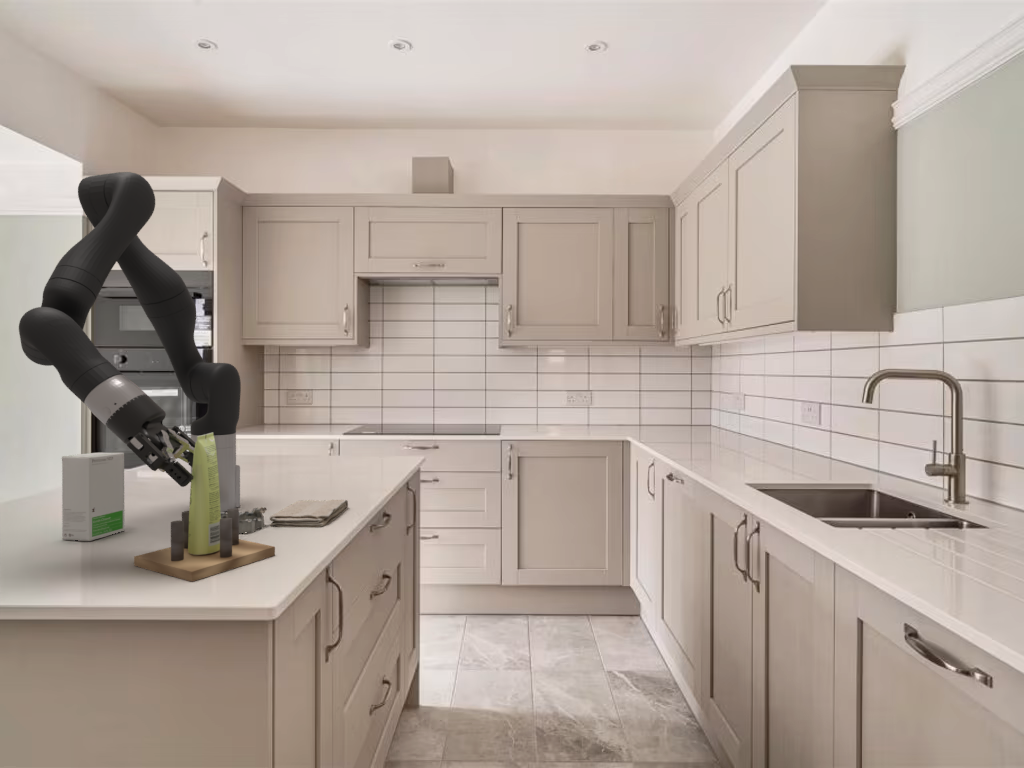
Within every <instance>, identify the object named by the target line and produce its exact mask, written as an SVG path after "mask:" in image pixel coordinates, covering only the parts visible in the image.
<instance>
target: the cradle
mask: <svg viewBox="0 0 1024 768" xmlns="http://www.w3.org/2000/svg"><path fill="white" fill-rule="evenodd" d="M239 512H240V509H239V508H238V507H236V508H233V509H228V510H227V511H226V514H227V518H222V519H220V550H219V551H217V552H214V553H211V554H206V555H193V554H190V553H189V552H188V534H189V510H184V511H181V520H174V521H171V522H170V547H166V548H161V549H158V550H153V551H149V552H146V553H141V554H138V555H134V556H133V566H134V567H137V566H138V568H141V569H145V570H148V571H152V572H155V573H159V574H163V575H166V576H170V577H175V578H177V579H181V580H183V581H188V582H195V581H199V580H202V579H205V578H208V577H211V576H214V575H217V574H220V573H223V572H227V571H230V570H233V569H237V568H239V567H242V566H246V565H249V564H252V563H256V562H258V561H262V560H265V559H269V558H271V557H274V556H275V555H276V547H275V546H272V545H268V544H265V543H258V542H254V541H249V540H245V539H240V534H239Z"/></svg>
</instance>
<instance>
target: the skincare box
mask: <svg viewBox="0 0 1024 768" xmlns="http://www.w3.org/2000/svg"><path fill="white" fill-rule="evenodd" d="M61 464H62V465H61V467H62V468H61V469H62V471H61V472H62V475H61V476H62V478H61V479H62V480H61V481H62V483H61V486H62V487H61V488H62V491H61V492H62V495H61V496H62V502H61V503H62V505H61V506H62V507H61V508H62V511H61V513H62V514H61V515H62V519H61V520H62V523H61V525H62V528H61V529H62V537H61V538H62V540H66V541H75V540H78V541H79V542H91V541H95V540H97V539H102V538H106V537H109V536H112V534H113V535H116V534H119V533H118V532H120V533H122V532H121V531H124V530H125V527H126V525H125V452H91V453H79V454H72V455H71V454H69V455H62V456H61ZM124 532H125V531H124ZM115 533H116V534H115Z"/></svg>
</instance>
